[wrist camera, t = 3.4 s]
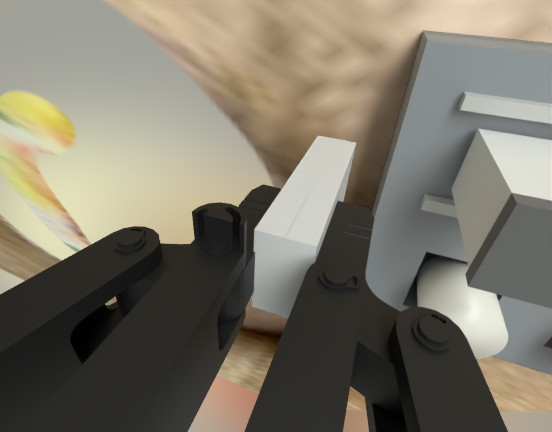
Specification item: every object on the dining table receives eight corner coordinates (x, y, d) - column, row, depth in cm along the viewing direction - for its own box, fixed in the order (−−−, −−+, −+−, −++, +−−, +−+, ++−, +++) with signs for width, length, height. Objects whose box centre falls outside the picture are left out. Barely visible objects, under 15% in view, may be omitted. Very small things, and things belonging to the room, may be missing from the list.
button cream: (408, 293, 21) (408, 344, 18) (429, 247, 19) (433, 297, 16) (474, 311, 20) (486, 369, 17) (504, 266, 18) (524, 322, 15)
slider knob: (448, 190, 16) (467, 286, 10) (476, 125, 14) (517, 203, 8) (522, 205, 15) (583, 317, 10) (562, 139, 13) (664, 233, 8)
